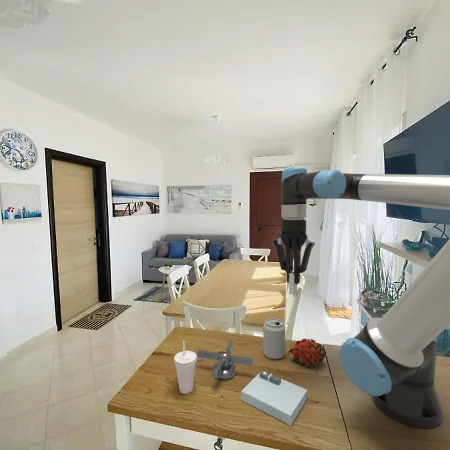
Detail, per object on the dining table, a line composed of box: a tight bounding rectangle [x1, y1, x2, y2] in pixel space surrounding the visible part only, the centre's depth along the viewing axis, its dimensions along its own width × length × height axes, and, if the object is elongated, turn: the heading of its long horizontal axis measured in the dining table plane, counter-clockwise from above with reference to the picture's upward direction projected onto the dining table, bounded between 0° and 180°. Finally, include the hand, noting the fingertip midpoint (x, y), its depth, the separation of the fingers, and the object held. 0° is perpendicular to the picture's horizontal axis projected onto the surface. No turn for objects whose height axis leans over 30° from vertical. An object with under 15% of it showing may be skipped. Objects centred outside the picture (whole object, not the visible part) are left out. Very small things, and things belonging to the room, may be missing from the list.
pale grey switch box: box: [240, 370, 308, 427], centre depth 71 cm, size 14×11×4 cm
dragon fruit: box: [288, 338, 327, 367], centre depth 88 cm, size 8×8×12 cm
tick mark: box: [196, 357, 204, 362], centre depth 90 cm, size 2×2×1 cm
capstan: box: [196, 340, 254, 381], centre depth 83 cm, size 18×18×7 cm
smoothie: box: [173, 340, 197, 395], centre depth 75 cm, size 6×6×14 cm
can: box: [262, 317, 286, 360], centre depth 92 cm, size 8×8×12 cm
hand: (293, 293), depth 84 cm, fingers closed
